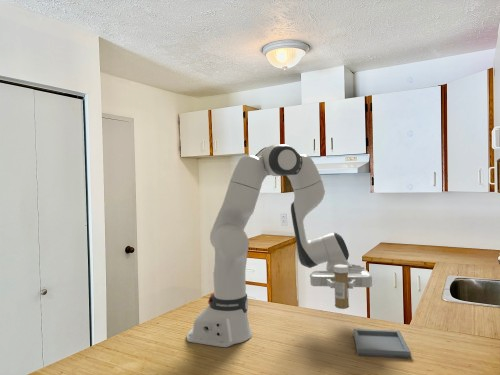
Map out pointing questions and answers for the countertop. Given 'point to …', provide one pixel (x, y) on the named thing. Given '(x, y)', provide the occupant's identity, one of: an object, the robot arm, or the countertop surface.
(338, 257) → the robot arm
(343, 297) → the sprinkles bottle
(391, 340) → the tray
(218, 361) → the countertop surface
